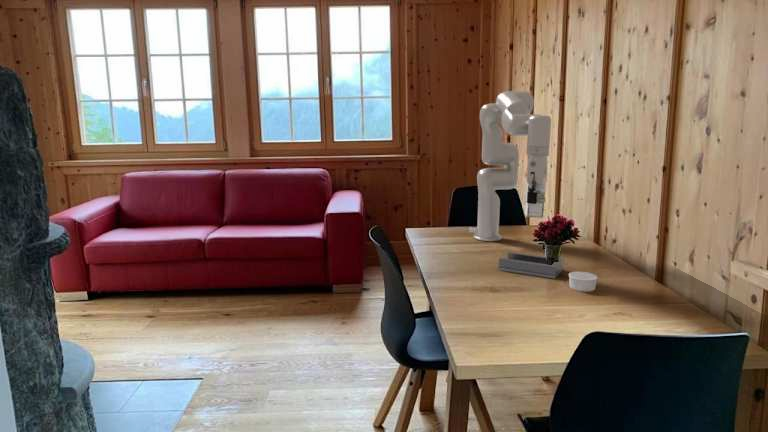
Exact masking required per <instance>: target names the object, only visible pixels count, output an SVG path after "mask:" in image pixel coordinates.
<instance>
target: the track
mask: <svg viewBox="0 0 768 432" xmlns="http://www.w3.org/2000/svg"><path fill="white" fill-rule="evenodd" d="M546 257H547V256H543V255H537V254H536V255H535V254H530V253H529V254H528V253H522V252H514V251H508V252H507V257H506V258H505V257H500V258H499V259H498V267H497V270H498V271H503V272H508V273H514V274H515V273H516V274H523V275H527V276H534V277H542V278H546V279H547V278H548V279H556V278H557V277H558V275H559V274H560V273H561V272H562V271H563V270H564V259H563V258H559V262H554V263H553V264H552V265H548V264H547V262H546Z"/></svg>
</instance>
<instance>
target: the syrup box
mask: <svg viewBox="0 0 768 432" xmlns="http://www.w3.org/2000/svg"><path fill="white" fill-rule="evenodd" d="M534 178H535V177H534ZM533 183H536V182H533ZM546 185H547V182H546V177H545V176H544V177H543V184H542V185H539V184H538V185H537V190H536V192H537V203H536V204H530V203H527V192H528V183H527V182H526V186H525V187H526V189H525V201H524V202H525V203H524V215H525V216H526V218H543V217H544V210H545V199H546V198H545V197H546ZM534 188H535V186H534Z"/></svg>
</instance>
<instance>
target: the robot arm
mask: <svg viewBox="0 0 768 432" xmlns="http://www.w3.org/2000/svg"><path fill="white" fill-rule="evenodd" d="M534 105H535V100H534V97H533V94H532V93H531V92H529V91H525V90H523V91H518V90H517V91H516V90H513V91H512V90H507V91H503V92H501V93H499V94H498V95H497V97H496V100H495V102H493V103H486V104H483V106H482V107H481V108H480V111H479V121H480V126H481V132H482V139H481V140H482V141H481V162H482V163H483V164H484V165H488V166H505V167H486V168H481V169H479V171H478V172H477V175H476V182H477V192H478V194H477V198H478V200H477V226H476V227H471V226H469V228H468V232H469V233H474V234H473V239H475V240H478V241H483V242H498V241H501V240H502V239H503V236H502V235H501V234H500V233H499V231H500V230H499V227H500V213H501V212H500V208H501V207H500V206H501V200H500V199H501V198H500V197H499V194H497V192H496V191H497V190H512V189H514V188H516V186H517V185H518V184H517V183H518V176H519V175H518V174H519V161H520V160H519V159H520V158H519V157H520V155H519V154H520V153H519V149H518V146H517V145H516V144H515V143H512V142H503V130H504V131H505V132H506V133H507V134H508V135H510V136H515V137H517V136H521V137H523V136H527V139H526V142H527V143H526V154H525V155H526V156H528V158H527V159H528V160H527V169H526V170H527V171H526V184H527V183H528V192H527V203H530V204H536V203H537V192H536V190H537V185H538V184H539V185H542V184H543V177H544V176H545V177H546V183H547V181H548V157H549V155H550V146H551V145H550V142H551V130H552V129H551V128H552V127H551V126H552V119H551V117H550V116H549V115H542V114H533V113H532V114H530V113H531V112H532V110H533V108H534ZM499 125H501V126H502V128H503V130H502V128H501V127H500V126H499ZM534 177H535V178H534ZM533 182H536V183H533ZM534 186H535V188H534Z"/></svg>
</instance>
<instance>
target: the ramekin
mask: <svg viewBox="0 0 768 432" xmlns="http://www.w3.org/2000/svg"><path fill="white" fill-rule="evenodd" d="M568 277H569V278H568V279H569V281H568V283H569V285H568V286H569V287H570V289H572V290H574V291H578V292H585V293H587V292H588V293H589V292H593V291H595V290H596V286H597V281H598V276H597V275H596V274H594V273H592V272H587V271H571V272H569V273H568Z"/></svg>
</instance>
